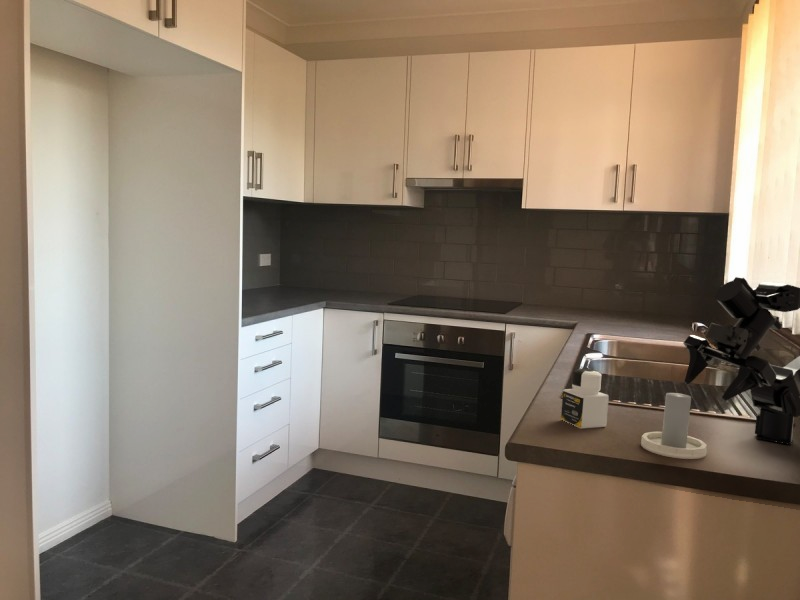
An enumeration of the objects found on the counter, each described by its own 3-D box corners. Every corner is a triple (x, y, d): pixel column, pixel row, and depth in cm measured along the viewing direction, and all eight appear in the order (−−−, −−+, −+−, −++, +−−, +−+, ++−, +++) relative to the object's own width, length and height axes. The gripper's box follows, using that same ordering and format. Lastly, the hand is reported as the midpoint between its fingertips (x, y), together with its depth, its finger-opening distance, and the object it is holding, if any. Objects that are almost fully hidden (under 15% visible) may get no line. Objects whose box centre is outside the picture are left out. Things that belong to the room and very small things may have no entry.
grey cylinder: (683, 443, 135) (688, 394, 134) (688, 450, 130) (693, 399, 129) (659, 440, 136) (664, 391, 135) (663, 447, 131) (668, 396, 130)
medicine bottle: (560, 420, 151) (564, 367, 150) (585, 418, 153) (590, 366, 152) (580, 429, 144) (584, 374, 143) (606, 427, 147) (611, 373, 146)
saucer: (710, 448, 135) (711, 439, 135) (700, 463, 125) (701, 454, 125) (648, 436, 141) (649, 428, 141) (634, 449, 131) (635, 440, 131)
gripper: (694, 298, 143) (651, 355, 142) (775, 321, 127) (728, 386, 126) (715, 328, 149) (674, 383, 147) (795, 354, 133) (750, 416, 131)
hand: (704, 391), depth 138 cm, fingers open, 9 cm apart
